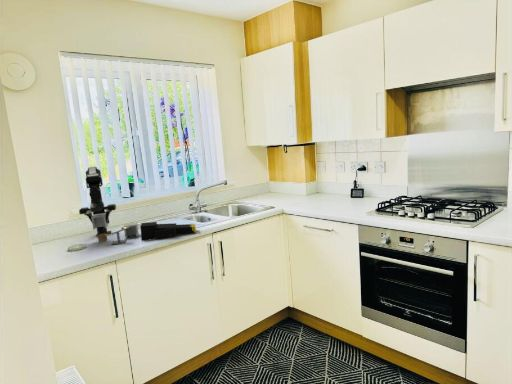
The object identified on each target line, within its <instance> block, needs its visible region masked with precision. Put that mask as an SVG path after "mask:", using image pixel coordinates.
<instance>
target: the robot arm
mask: <svg viewBox="0 0 512 384" xmlns="http://www.w3.org/2000/svg"><path fill="white" fill-rule="evenodd" d="M101 173H102V172H101V169H99V168H98V167H97V166H90V167H87V170H86V171H85V184H86V189H89V197H90V206H89V207H88V206H87V207H86V206H85V207H81V208H80V209H79V210H78V212H79V215H84V216H86V217H88V219H89V220H90V222H91V223H92V218H91V217H92V216H93V215H95V214H103V213H106V222H107V223H108V224H110V214H111V212H112V211H116V210H117V204H115V203H112V204H107V206H106V205H105V203H104V202H103V196H102V190H101V187H103V185H104V184H103V177H102V174H101ZM107 228H108V227H107ZM107 228H105V226H102V227H96V236H97V237H98V235H99V234H104V233H106V234H107V231H108V229H107Z"/></svg>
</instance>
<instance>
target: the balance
mask: <svg viewBox="0 0 512 384" xmlns="http://www.w3.org/2000/svg"><path fill="white" fill-rule="evenodd" d="M128 228H130V227H129V226H126V227H124V226H122V227H121V228H120V229H119V230H117V231H115V232H112V230H107V234H105V235H106V236H107V237H108V236H113V235H115V234H116V240H114V241H112V243H111V246H115V245H123V244H124V245H125V244H126V242H127V239H121V236H120V232H122V231H124V230H125V229H128Z"/></svg>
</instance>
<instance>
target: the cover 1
mask: <svg viewBox="0 0 512 384" xmlns="http://www.w3.org/2000/svg"><path fill="white" fill-rule="evenodd" d="M91 218H92V222H91V224H92V230H97V228H96V227H102V226H105V228H108V227H109V223H107V222H106V212H105V213H103V214H95V215H93V214H92V217H91Z"/></svg>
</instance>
